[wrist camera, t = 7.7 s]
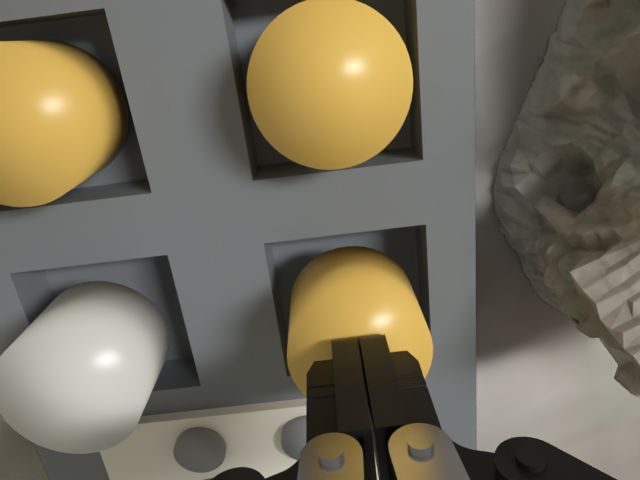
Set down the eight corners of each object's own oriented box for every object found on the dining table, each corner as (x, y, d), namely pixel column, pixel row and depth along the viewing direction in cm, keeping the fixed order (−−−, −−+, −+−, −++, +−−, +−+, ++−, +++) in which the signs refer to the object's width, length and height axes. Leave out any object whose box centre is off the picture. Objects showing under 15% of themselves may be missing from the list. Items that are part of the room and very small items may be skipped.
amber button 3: (282, 253, 16) (276, 300, 13) (409, 238, 16) (430, 282, 13) (299, 359, 18) (297, 421, 15) (415, 346, 17) (435, 406, 15)
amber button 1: (-30, 48, 15) (-110, 53, 12) (107, 31, 14) (59, 31, 12) (18, 183, 16) (-43, 215, 13) (143, 168, 16) (107, 197, 13)
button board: (-83, -14, 16) (-194, -27, 12) (443, -85, 15) (483, -119, 12) (101, 475, 23) (65, 553, 20) (456, 438, 23) (482, 510, 19)
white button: (27, 288, 16) (-33, 343, 13) (153, 273, 16) (120, 325, 13) (66, 392, 17) (20, 460, 15) (182, 379, 17) (157, 446, 15)
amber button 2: (247, 12, 14) (232, 8, 12) (389, -6, 14) (408, -15, 11) (269, 152, 16) (261, 178, 13) (398, 137, 16) (417, 159, 13)
